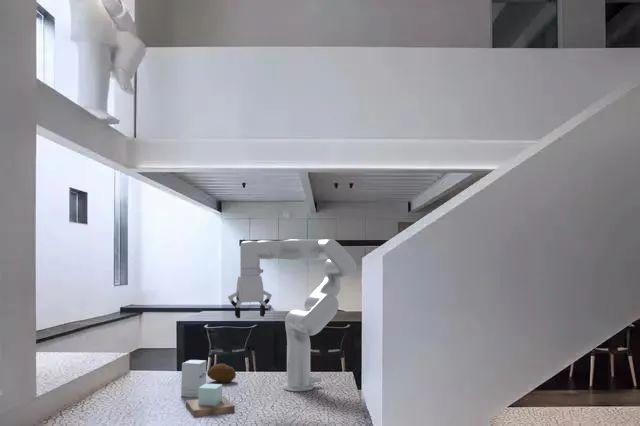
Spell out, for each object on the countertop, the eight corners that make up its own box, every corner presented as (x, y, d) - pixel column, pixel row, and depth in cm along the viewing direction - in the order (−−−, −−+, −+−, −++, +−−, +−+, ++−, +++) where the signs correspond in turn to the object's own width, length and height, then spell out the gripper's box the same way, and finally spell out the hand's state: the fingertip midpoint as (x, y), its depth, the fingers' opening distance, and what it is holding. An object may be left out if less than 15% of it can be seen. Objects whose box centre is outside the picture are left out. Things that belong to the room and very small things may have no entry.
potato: (234, 384, 230) (234, 365, 230) (204, 384, 229) (205, 365, 230) (237, 379, 238) (237, 361, 238) (208, 380, 238) (208, 361, 238)
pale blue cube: (204, 400, 198) (205, 383, 198) (222, 400, 196) (222, 384, 197) (198, 404, 191) (198, 387, 192) (215, 405, 190) (216, 388, 191)
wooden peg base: (224, 401, 203) (224, 383, 203) (234, 411, 190) (234, 392, 190) (185, 406, 197) (186, 387, 197) (193, 416, 184) (194, 396, 185)
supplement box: (198, 397, 209) (199, 363, 209) (180, 396, 210) (181, 362, 211) (206, 392, 216) (207, 360, 217) (188, 391, 217) (189, 359, 218)
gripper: (267, 271, 221) (268, 314, 220) (225, 273, 214) (225, 317, 213) (274, 272, 214) (274, 316, 213) (231, 273, 207) (231, 319, 206)
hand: (250, 317), depth 213 cm, fingers open, 9 cm apart
